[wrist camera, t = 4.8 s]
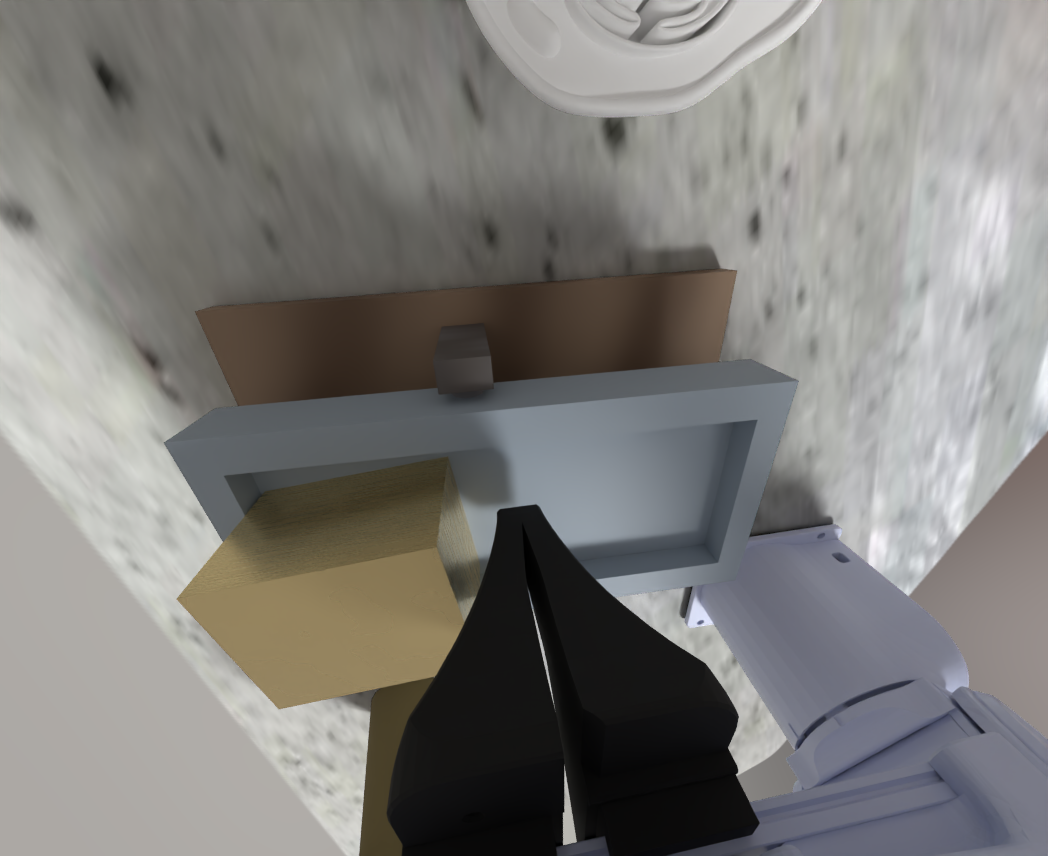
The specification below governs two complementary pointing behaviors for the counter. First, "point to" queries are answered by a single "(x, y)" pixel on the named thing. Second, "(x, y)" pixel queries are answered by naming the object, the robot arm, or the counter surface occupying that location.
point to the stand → (468, 335)
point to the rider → (342, 583)
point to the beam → (536, 460)
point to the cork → (385, 763)
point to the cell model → (632, 48)
